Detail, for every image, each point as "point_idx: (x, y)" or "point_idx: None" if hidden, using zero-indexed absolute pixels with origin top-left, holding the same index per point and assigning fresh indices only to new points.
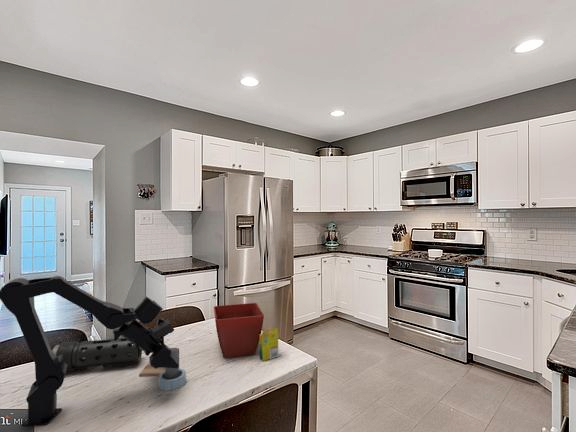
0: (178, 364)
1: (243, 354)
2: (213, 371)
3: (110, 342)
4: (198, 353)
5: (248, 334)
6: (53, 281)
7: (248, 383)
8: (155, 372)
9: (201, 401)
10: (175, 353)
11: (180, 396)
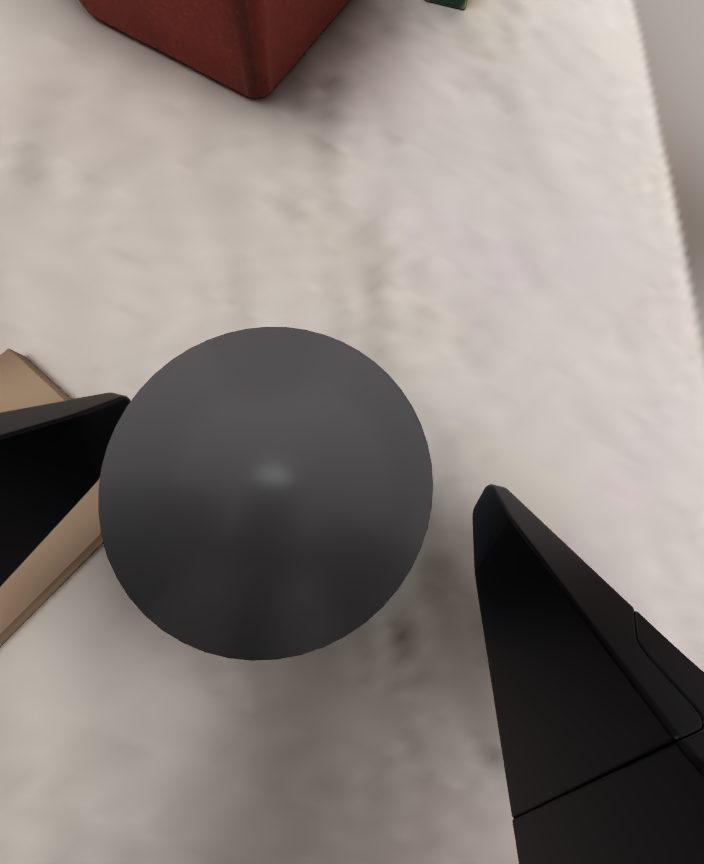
0: (503, 492)
1: (332, 11)
2: (367, 232)
3: None
4: (43, 161)
5: None
6: None
7: (625, 186)
8: (64, 540)
9: (645, 459)
10: (427, 474)
11: None
